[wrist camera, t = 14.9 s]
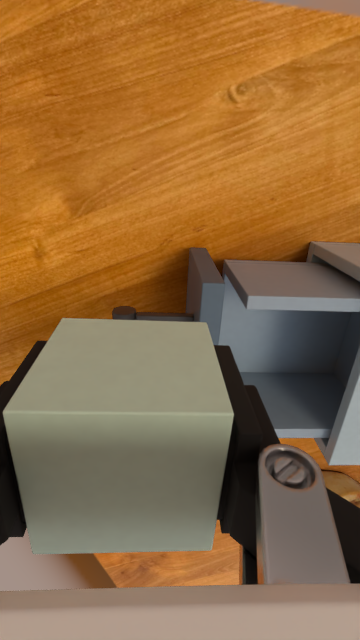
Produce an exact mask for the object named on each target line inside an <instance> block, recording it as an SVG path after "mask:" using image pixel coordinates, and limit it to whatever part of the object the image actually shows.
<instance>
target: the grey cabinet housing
mask: <svg viewBox="0 0 360 640" xmlns="http://www.w3.org/2000/svg"><path fill="white" fill-rule="evenodd" d="M306 262H308V263H329V264H331V265H332V266H334V267H336V268H337V269H339V270H341V271H342V272H344V273H346V274H348V275H349V276H351V277H353V278H354V279H356V280H358V281H359V282H360V243H339V242H314V241H311V242H310V247H309V251H308V256H307V261H306ZM314 439H315V441H316V443H317V445H318V447H319V448H320V450H321V452H322V454H323V455H324V457H325V459H326V461H327V463H328V465H360V346H359V349H358V352H357V355H356V358H355V361H354V364H353V367H352V370H351V373H350V376H349V380H348V383H347V386H346V389H345V392H344V395H343V398H342V401H341V404H340V407H339V410H338V413H337V416H336V420H335V423H334V426H333V429H332V432H331V435H330V438H314Z"/></svg>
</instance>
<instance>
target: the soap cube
mask: <svg viewBox="0 0 360 640" xmlns="http://www.w3.org/2000/svg"><path fill="white" fill-rule="evenodd" d="M3 417H4V422H5V426H6V431H7V436H8V440H9V445H10V450H11V455H12V459H13V464H14V469H15V473H16V478H17V483H18V487H19V492H20V497H21V502H22V506H23V511H24V516H25V520H26V525H27V529H28V534H29V539H30V544H31V549H32V553H33V554H62V553H63V554H64V553H113V552H160V551H207V550H212V545H213V539H214V533H215V527H216V521H217V515H218V509H219V503H220V497H221V491H222V484H223V478H224V472H225V466H226V460H227V454H228V448H229V442H230V436H231V430H232V423H233V417H234V413H233V409H232V406H231V403H230V399H229V396H228V393H227V389H226V386H225V382H224V379H223V376H222V372H221V369H220V365H219V362H218V359H217V355H216V352H215V349H214V345H213V342H212V338H211V335H210V332H209V328H208V325H207V323H206V322H178V321H146V320H113V319H81V318H62V319H61V321H60V323H59V324H58V326H57V327H56V329H55V330H54V332H53V334H52V335H51V337H50V338H49V340H48V341H47V343H46V344H45V346H44V348H43V349H42V351H41V352H40V354H39V355H38V357H37V359H36V360H35V362H34V363H33V365H32V366H31V368H30V370H29V371H28V373H27V374H26V376H25V377H24V379H23V381H22V382H21V384H20V385H19V387H18V388H17V390H16V392H15V393H14V395H13V396H12V398H11V399H10V401H9V402H8V404H7V406H6V407H5V409H4V410H3Z"/></svg>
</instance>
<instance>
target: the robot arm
mask: <svg viewBox="0 0 360 640" xmlns="http://www.w3.org/2000/svg"><path fill="white" fill-rule="evenodd" d="M46 343H47V341H37V342H36V343H35V345H34V346H33V348H32V349H31V351H30V352H29V353H28V355H27V356H26V358H25V359H24V361H23V362H22V363H21V365H20V366H19V368H18V369H17V371H16V372H15V373H14V375H13V376H12V378H11V379H10V381H6V382H4V383H3V384H2V385H1V386H0V545H1V544H2V543H4V542H5V541H6V540H7V539H8V538H9V537H23V536H24V533H25V530H26V528H27V525H26V520H25V516H24V511H23V506H22V502H21V497H20V492H19V487H18V483H17V478H16V473H15V469H14V464H13V459H12V455H11V450H10V445H9V440H8V436H7V431H6V426H5V422H4V417H3V410H4V409H5V407H6V406H7V404H8V402H9V401H10V399H11V398H12V396H13V395H14V393H15V392H16V390H17V388H18V387H19V385H20V384H21V382H22V381H23V379H24V377H25V376H26V374H27V373H28V371H29V370H30V368H31V366H32V365H33V363H34V362H35V360H36V359H37V357H38V355H39V354H40V352H41V351H42V349H43V348H44V346H45V344H46ZM214 349H215V352H216V355H217V359H218V362H219V365H220V369H221V372H222V376H223V379H224V382H225V386H226V389H227V393H228V396H229V399H230V403H231V406H232V409H233V413H234V417H233V423H232V430H231V436H230V442H229V448H228V454H227V460H226V466H225V472H224V478H223V484H222V491H221V497H220V503H219V509H218V515H217V520H220V526H221V532H222V533H230V536H231V537H232V538H233V539H235V540H236V541H237V542H238V543H239V544H240V562H239V585H213V586H170V587H134V588H98V589H66V590H31V591H0V640H360V508H359V507H357V506H356V505H354V504H352V503H351V502H349V501H348V500H346V499H344V498H343V497H341V496H339V495H338V494H336V493H335V492H333V491H331V490H330V489H328V488H327V487H326V486H325V482H324V478H323V474H322V472H321V469H320V467H319V465H318V464H317V463H316V461H315V460H314V459H313V458H312V457H311V456H310V455H308V454H307V453H306V452H305V451H303V450H301V449H299V448H297V447H294V446H290V445H287V444H280V441H279V439H278V437H277V434H276V432H275V430H274V427H273V425H272V423H271V420H270V418H269V416H268V413H267V411H266V409H265V406H264V404H263V402H262V399H261V397H260V395H259V392H258V390H257V388H256V386H254V385H244V383H243V380H242V377H241V375H240V372H239V369H238V367H237V364H236V362H235V359H234V356H233V354H232V351H231V348H230V346H228V345H214Z"/></svg>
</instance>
